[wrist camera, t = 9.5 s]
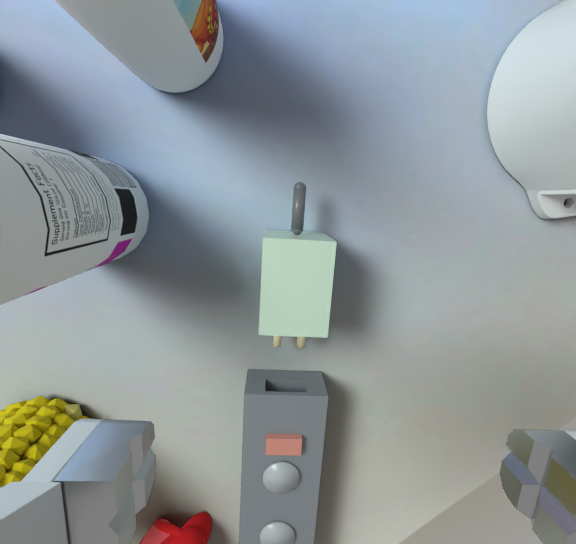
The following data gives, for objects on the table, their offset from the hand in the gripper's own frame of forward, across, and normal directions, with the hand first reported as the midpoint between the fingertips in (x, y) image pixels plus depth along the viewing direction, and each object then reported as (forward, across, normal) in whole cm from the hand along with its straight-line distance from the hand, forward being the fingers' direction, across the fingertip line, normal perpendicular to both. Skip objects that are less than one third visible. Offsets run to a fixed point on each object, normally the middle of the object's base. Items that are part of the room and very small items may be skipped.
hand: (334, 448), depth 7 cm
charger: (+21, 0, +1) cm, 21 cm away
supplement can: (+22, +16, -4) cm, 27 cm away
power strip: (+22, 0, +22) cm, 31 cm away
